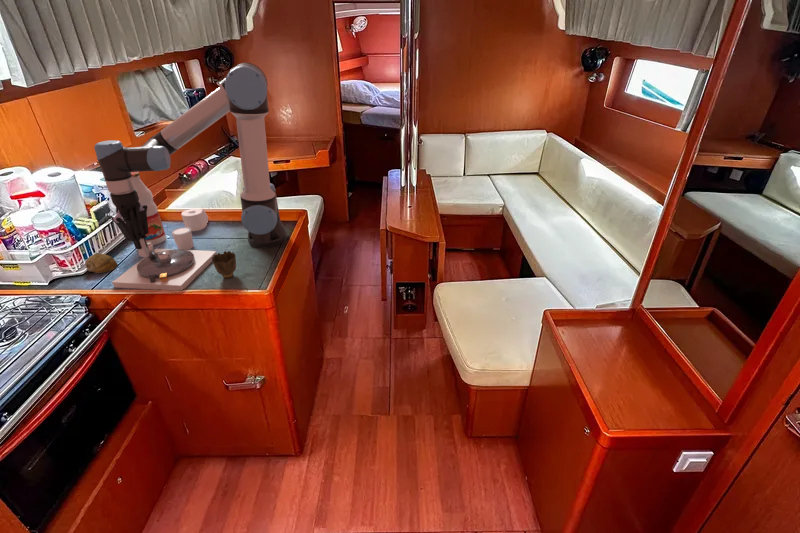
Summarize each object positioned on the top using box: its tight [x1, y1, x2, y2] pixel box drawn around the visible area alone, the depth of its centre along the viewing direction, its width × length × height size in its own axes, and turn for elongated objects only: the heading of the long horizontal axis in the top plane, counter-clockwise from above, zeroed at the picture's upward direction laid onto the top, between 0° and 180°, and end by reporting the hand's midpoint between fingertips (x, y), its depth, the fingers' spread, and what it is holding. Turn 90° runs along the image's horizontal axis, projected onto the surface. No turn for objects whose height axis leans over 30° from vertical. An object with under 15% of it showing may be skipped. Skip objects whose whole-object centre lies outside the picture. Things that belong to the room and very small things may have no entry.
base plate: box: [111, 248, 218, 291], centre depth 148 cm, size 24×24×5 cm
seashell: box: [84, 253, 119, 274], centre depth 150 cm, size 10×7×8 cm
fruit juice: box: [131, 172, 167, 246], centre depth 163 cm, size 9×9×28 cm
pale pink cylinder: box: [171, 226, 195, 250], centre depth 164 cm, size 7×7×7 cm
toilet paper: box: [180, 206, 209, 232], centre depth 181 cm, size 8×11×7 cm
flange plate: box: [137, 242, 195, 281], centre depth 146 cm, size 18×20×7 cm
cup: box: [212, 250, 237, 279], centre depth 143 cm, size 8×7×8 cm
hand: (144, 255), depth 147 cm, fingers closed
